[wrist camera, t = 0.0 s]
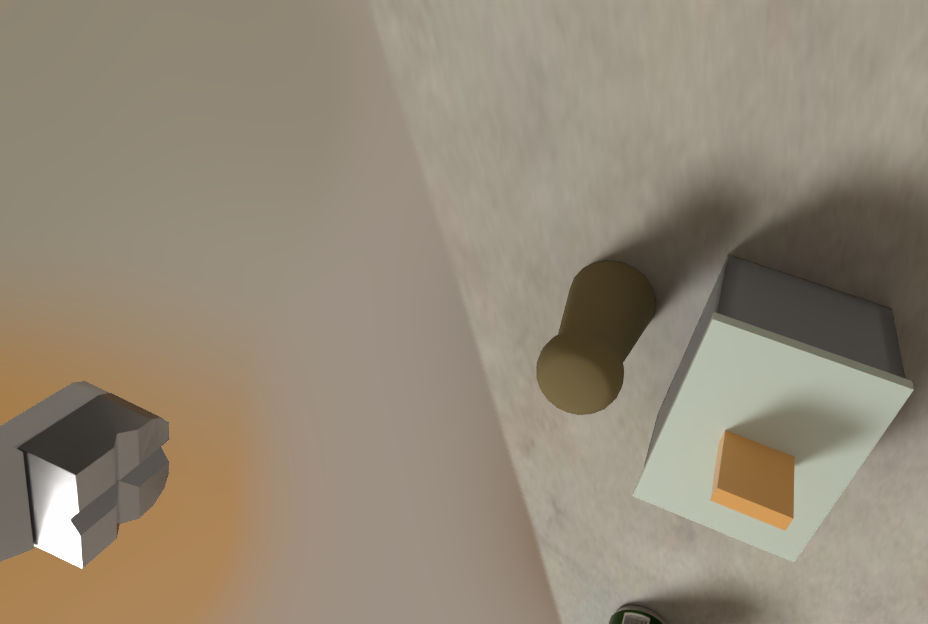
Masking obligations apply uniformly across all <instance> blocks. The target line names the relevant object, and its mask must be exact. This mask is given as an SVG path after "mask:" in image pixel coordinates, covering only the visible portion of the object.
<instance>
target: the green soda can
mask: <svg viewBox="0 0 928 624" xmlns="http://www.w3.org/2000/svg"><path fill="white" fill-rule="evenodd" d="M609 624H666V623H665V621H664V620H663V619H662V618H661V617H660V616H659V615H658V614H657V613H655V612H653V611H652V610H650V609H647V608H645V607H641V606H636V605H628V606H624V607H621V608H620V609H618V610H617V611H616V612H615V613H614V614H613V615H612V616H611V619H610V621H609Z"/></svg>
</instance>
